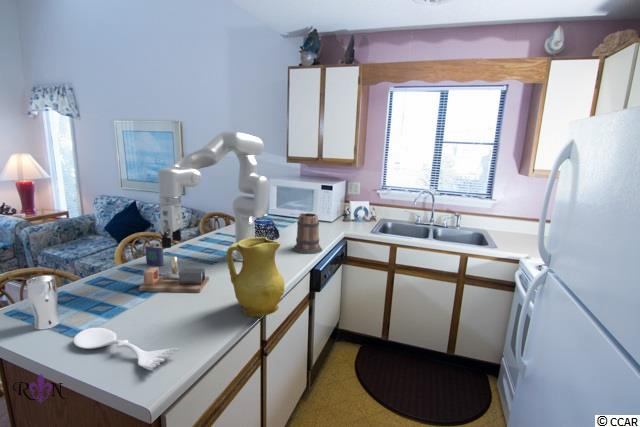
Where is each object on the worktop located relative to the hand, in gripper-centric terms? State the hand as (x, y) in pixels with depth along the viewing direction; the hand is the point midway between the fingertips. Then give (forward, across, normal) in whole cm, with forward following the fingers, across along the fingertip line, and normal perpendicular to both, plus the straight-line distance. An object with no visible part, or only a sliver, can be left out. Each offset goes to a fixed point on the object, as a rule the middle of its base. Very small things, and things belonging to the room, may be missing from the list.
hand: (172, 244), depth 128 cm
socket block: (+16, +1, +9) cm, 18 cm away
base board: (+18, +1, -1) cm, 18 cm away
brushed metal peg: (+15, +1, -4) cm, 15 cm away
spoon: (+19, -43, -3) cm, 47 cm away
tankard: (+16, +54, -55) cm, 79 cm away
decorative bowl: (+16, +76, -26) cm, 82 cm away
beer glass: (+19, -29, +27) cm, 44 cm away
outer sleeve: (+16, +1, -7) cm, 18 cm away
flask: (+18, +24, +18) cm, 35 cm away
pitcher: (+18, -16, -36) cm, 43 cm away
